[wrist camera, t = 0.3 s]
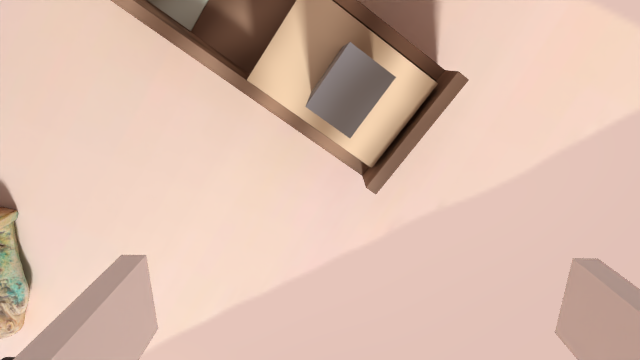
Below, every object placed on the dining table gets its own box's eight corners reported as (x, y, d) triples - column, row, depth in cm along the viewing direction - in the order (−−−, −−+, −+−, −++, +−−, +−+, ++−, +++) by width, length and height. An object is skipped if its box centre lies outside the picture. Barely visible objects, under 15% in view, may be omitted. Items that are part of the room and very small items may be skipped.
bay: (114, -11, 33) (50, -31, 25) (173, -134, 30) (121, -199, 22) (365, 166, 38) (375, 194, 30) (437, 75, 35) (468, 79, 27)
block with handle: (258, 76, 34) (211, 89, 20) (310, -6, 32) (300, -58, 18) (364, 151, 36) (390, 212, 22) (419, 79, 34) (489, 94, 20)
